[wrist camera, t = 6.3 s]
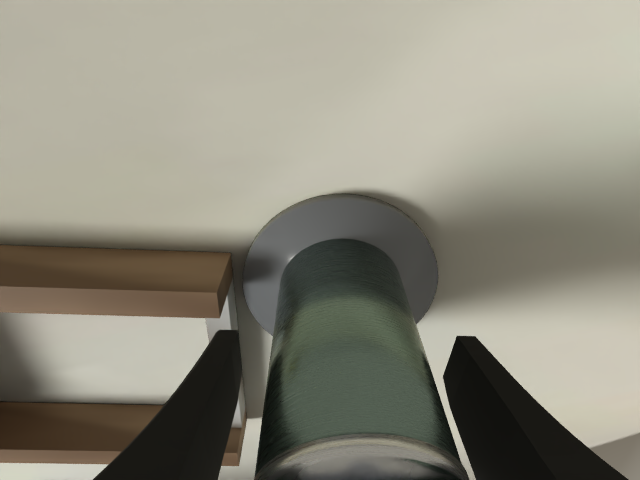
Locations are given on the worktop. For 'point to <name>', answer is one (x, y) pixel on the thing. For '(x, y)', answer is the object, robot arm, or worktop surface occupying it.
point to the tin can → (350, 376)
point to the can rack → (107, 299)
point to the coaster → (334, 223)
